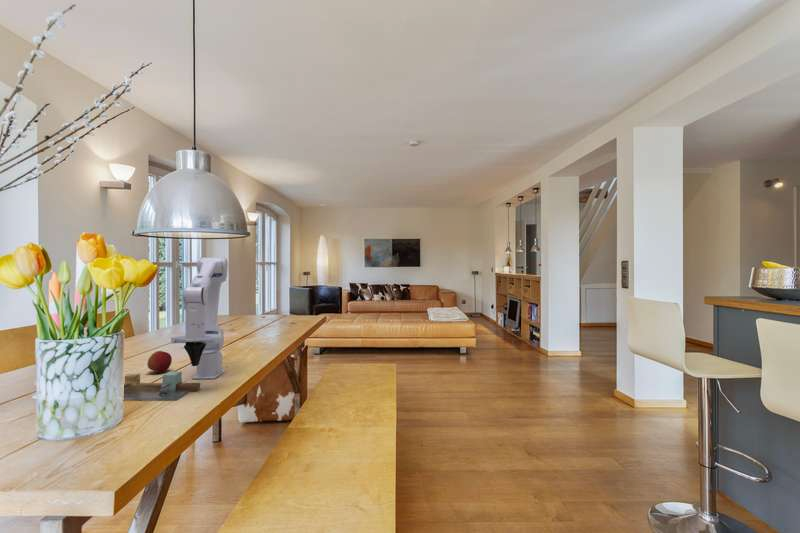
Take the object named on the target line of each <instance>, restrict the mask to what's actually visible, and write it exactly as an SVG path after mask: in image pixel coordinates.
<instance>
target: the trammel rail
mask: <svg viewBox="0 0 800 533" xmlns="http://www.w3.org/2000/svg"><path fill="white" fill-rule="evenodd" d="M123 384H124V390H160V389H161V386H162V385H163V382H141V373H129V374H127V375H125V376H124V383H123ZM176 390H188V393H189V392H190V393H191V392H198V391H200V390H201V382H182V383H178V384H176Z"/></svg>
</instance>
